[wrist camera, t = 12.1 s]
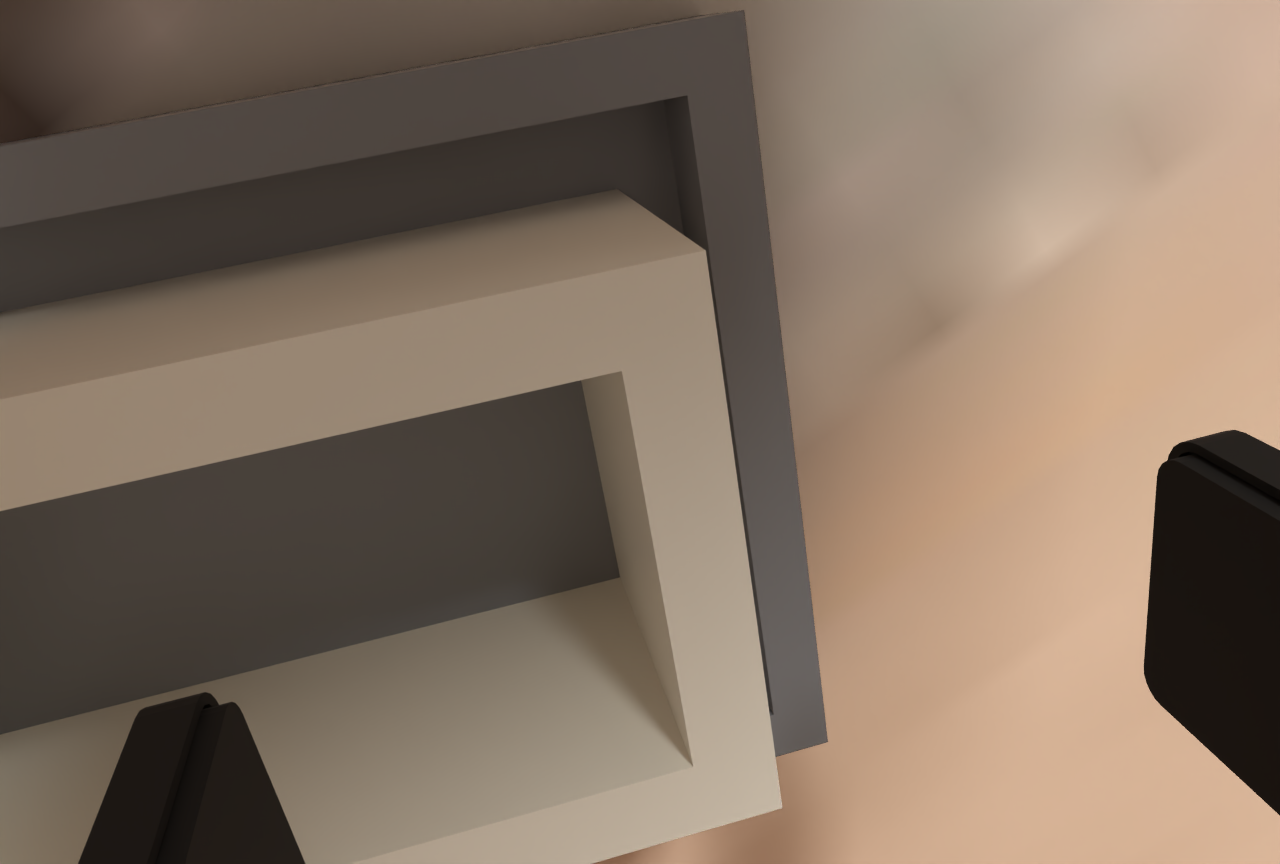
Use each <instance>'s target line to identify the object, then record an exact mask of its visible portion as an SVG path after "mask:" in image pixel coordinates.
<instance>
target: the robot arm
mask: <svg viewBox="0 0 1280 864" xmlns="http://www.w3.org/2000/svg"><path fill="white" fill-rule="evenodd" d="M1144 675H1145V679H1146V682H1147V685H1148V687H1149V689H1150V691H1151V693H1152V695H1153V696H1154V698H1155V699H1156V700H1157V701H1158V703H1159V704H1160V705H1161V706H1162V707H1163V708H1164V709H1166V710H1167V711H1168V712H1169V713H1170V714H1171V715H1172V716H1173V717H1174V718H1175V719H1176V720H1177V721H1178V722H1180V723H1181V724H1182V725H1183V726H1184V727H1185V728H1186V729H1187V730H1188V731H1189V732H1190V733H1191V734H1193V735H1194V736H1195V737H1196V738H1197V739H1198V740H1199V741H1200V742H1201V743H1202V744H1203V745H1204V746H1205V747H1207V748H1208V749H1209V750H1210V751H1211V752H1212V753H1213V754H1214V755H1215V756H1216V757H1217V758H1218V759H1220V760H1221V761H1222V762H1223V763H1224V764H1225V765H1226V766H1227V767H1228V768H1229V769H1230V770H1231V771H1232V772H1234V773H1235V774H1236V775H1237V776H1238V777H1239V778H1240V779H1241V780H1242V781H1243V782H1244V783H1245V784H1247V785H1248V786H1249V787H1250V788H1251V789H1252V790H1253V791H1254V792H1255V793H1256V794H1257V795H1258V796H1259V797H1261V798H1262V799H1263V800H1264V801H1265V802H1266V803H1267V804H1268V805H1269V806H1270V807H1271V808H1272V809H1274V810H1275V811H1276V812H1277V813H1278V814H1279V815H1280V450H1278V449H1276V448H1274V447H1272V446H1270V445H1268V444H1266V443H1264V442H1262V441H1260V440H1258V439H1256V438H1254V437H1252V436H1250V435H1248V434H1246V433H1243V432H1240V431H1237V430H1230V431H1224V432H1220V433H1216V434H1212V435H1208V436H1204V437H1200V438H1197V439H1193V440H1189V441H1185V442H1181V443H1179V444H1178V445H1176V446H1175V447H1173V449H1172V451H1171V452H1170V454H1169V457H1168V460H1167V461H1166V462H1164V463H1163V464H1162V465H1161V467H1160V468H1159V470H1158V475H1157V486H1156V500H1155V514H1154V529H1153V543H1152V557H1151V572H1150V586H1149V600H1148V614H1147V629H1146V643H1145V657H1144ZM78 864H305V861H304V859H303V856H302V854H301V852H300V849H299V847H298V844H297V842H296V840H295V837H294V835H293V832H292V830H291V828H290V825H289V823H288V821H287V818H286V816H285V813H284V811H283V809H282V806H281V804H280V801H279V799H278V797H277V794H276V792H275V789H274V787H273V785H272V782H271V780H270V777H269V775H268V773H267V770H266V768H265V766H264V763H263V761H262V758H261V756H260V754H259V751H258V749H257V746H256V744H255V742H254V739H253V737H252V734H251V732H250V730H249V727H248V725H247V722H246V720H245V718H244V715H243V713H242V711H241V709H240V707H239V706H238V705H237V704H236V703H234V702H229V703H225V704H221V705H219V704H218V702H217V700H216V699H215V698H214V697H213V696H212V694H210V693H207V692H203V693H200V694H196V695H192V696H188V697H184V698H180V699H176V700H172V701H168V702H164V703H160V704H157V705H153V706H149V707H145V708H143V709H141V710H140V711H139V712H138V714H137V716H136V717H135V719H134V722H133V724H132V727H131V729H130V732H129V735H128V737H127V740H126V742H125V745H124V747H123V750H122V752H121V755H120V758H119V760H118V763H117V765H116V768H115V770H114V773H113V775H112V778H111V781H110V783H109V786H108V788H107V791H106V793H105V796H104V798H103V801H102V804H101V806H100V809H99V811H98V814H97V816H96V819H95V821H94V824H93V826H92V829H91V832H90V834H89V837H88V839H87V842H86V844H85V847H84V849H83V852H82V855H81V857H80V860H79V862H78Z"/></svg>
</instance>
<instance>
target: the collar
mask: <svg viewBox="0 0 1280 864" xmlns="http://www.w3.org/2000/svg"><path fill="white" fill-rule="evenodd" d="M580 380H581V382H582V387H583V392H584V397H585V402H586V407H587V412H588V417H589V422H590V428H591V433H592V438H593V443H594V448H595V453H596V458H597V463H598V468H599V473H600V478H601V483H602V488H603V493H604V498H605V503H606V508H607V513H608V518H609V524H610V529H611V534H612V539H613V544H614V549H615V554H616V559H617V564H618V569H619V574H620V577H619V578H615V579H611V580H607V581H604V582H600V583H596V584H592V585H588V586H584V587H580V588H576V589H572V590H568V591H564V592H560V593H556V594H552V595H548V596H544V597H540V598H537V599H533V600H529V601H525V602H521V603H517V604H513V605H509V606H505V607H501V608H497V609H493V610H489V611H485V612H481V613H477V614H473V615H469V616H466V617H462V618H458V619H454V620H450V621H446V622H442V623H438V624H434V625H430V626H426V627H422V628H418V629H414V630H410V631H406V632H402V633H399V634H395V635H391V636H387V637H383V638H379V639H375V640H371V641H367V642H363V643H359V644H355V645H351V646H347V647H343V648H339V649H335V650H331V651H328V652H324V653H320V654H316V655H312V656H308V657H304V658H300V659H296V660H292V661H288V662H284V663H280V664H276V665H272V666H268V667H264V668H261V669H257V670H253V671H249V672H245V673H241V674H237V675H233V676H229V677H225V678H221V679H217V680H213V681H209V682H205V683H201V684H197V685H193V686H190V687H186V688H182V689H178V690H174V691H170V692H166V693H162V694H158V695H154V696H150V697H146V698H142V699H138V700H134V701H130V702H126V703H123V704H119V705H115V706H111V707H107V708H103V709H99V710H95V711H91V712H87V713H83V714H79V715H75V716H71V717H67V718H63V719H59V720H55V721H52V722H48V723H44V724H40V725H36V726H32V727H28V728H24V729H20V730H16V731H12V732H8V733H4V734H0V864H78V862H79V860H80V857H81V855H82V852H83V849H84V847H85V844H86V842H87V839H88V837H89V834H90V832H91V829H92V826H93V824H94V821H95V819H96V816H97V814H98V811H99V809H100V806H101V804H102V801H103V798H104V796H105V793H106V791H107V788H108V786H109V783H110V781H111V778H112V775H113V773H114V770H115V768H116V765H117V763H118V760H119V758H120V755H121V752H122V750H123V747H124V745H125V742H126V740H127V737H128V735H129V732H130V729H131V727H132V724H133V722H134V719H135V717H136V716H137V714H138V712H139V711H140V710H141V709H143V708H145V707H149V706H153V705H157V704H160V703H164V702H168V701H172V700H176V699H180V698H184V697H188V696H192V695H196V694H200V693H203V692H207V693H210V694H212V696H213V697H214V698H215V699H216V700H217V702H218V704H219V705H221V704H225V703H229V702H234V703H236V704H237V705H238V706H239V707H240V709H241V711H242V713H243V715H244V718H245V720H246V722H247V725H248V727H249V730H250V732H251V734H252V737H253V739H254V742H255V744H256V746H257V749H258V751H259V754H260V756H261V758H262V761H263V763H264V766H265V768H266V770H267V773H268V775H269V777H270V780H271V782H272V785H273V787H274V789H275V792H276V794H277V797H278V799H279V801H280V804H281V806H282V809H283V811H284V813H285V816H286V818H287V821H288V823H289V825H290V828H291V830H292V832H293V835H294V837H295V840H296V842H297V844H298V847H299V849H300V852H301V854H302V856H303V859H304V861H305V864H593V863H596V862H600V861H603V860H607V859H610V858H613V857H617V856H620V855H624V854H627V853H631V852H634V851H637V850H641V849H644V848H648V847H651V846H655V845H658V844H661V843H665V842H668V841H672V840H675V839H679V838H682V837H685V836H689V835H692V834H696V833H699V832H703V831H706V830H709V829H713V828H716V827H720V826H723V825H727V824H730V823H733V822H737V821H740V820H744V819H747V818H751V817H754V816H758V815H761V814H764V813H768V812H771V811H775V810H778V809H782V800H781V793H780V786H779V779H778V771H777V764H776V757H775V750H774V742H773V735H772V728H771V720H770V713H769V706H768V699H767V691H766V684H765V677H764V670H763V662H762V655H761V648H760V641H759V633H758V626H757V619H756V612H755V604H754V597H753V590H752V583H751V575H750V568H749V561H748V554H747V546H746V539H745V532H744V524H743V517H742V510H741V503H740V495H739V488H738V481H737V474H736V466H735V459H734V452H733V445H732V437H731V430H730V423H729V416H728V408H727V401H726V394H725V387H724V379H723V372H722V365H721V357H720V350H719V343H718V336H717V328H716V321H715V314H714V307H713V299H712V292H711V285H710V278H709V270H708V263H707V256H706V250H704V249H703V248H702V247H700V246H699V245H697V244H696V243H694V242H693V241H691V240H690V239H689V238H687V237H686V236H684V235H683V234H681V233H680V232H678V231H677V230H676V229H674V228H673V227H671V226H670V225H668V224H667V223H665V222H664V221H663V220H661V219H660V218H658V217H657V216H655V215H654V214H652V213H651V212H650V211H648V210H647V209H645V208H644V207H642V206H641V205H640V204H638V203H637V202H635V201H634V200H632V199H631V198H629V197H628V196H627V195H625V194H624V193H622V192H621V191H619V190H618V189H614V190H609V191H604V192H599V193H594V194H589V195H584V196H579V197H574V198H569V199H564V200H559V201H554V202H549V203H544V204H539V205H534V206H529V207H524V208H519V209H514V210H509V211H504V212H499V213H495V214H490V215H485V216H480V217H475V218H470V219H465V220H460V221H455V222H450V223H445V224H440V225H435V226H430V227H425V228H420V229H415V230H410V231H405V232H400V233H395V234H390V235H385V236H380V237H375V238H370V239H365V240H360V241H355V242H350V243H345V244H340V245H335V246H330V247H325V248H320V249H315V250H310V251H305V252H300V253H295V254H290V255H285V256H280V257H275V258H270V259H265V260H260V261H255V262H250V263H245V264H240V265H235V266H230V267H225V268H220V269H215V270H210V271H205V272H200V273H195V274H190V275H185V276H180V277H175V278H170V279H166V280H161V281H156V282H151V283H146V284H141V285H136V286H131V287H126V288H121V289H116V290H111V291H106V292H101V293H96V294H91V295H86V296H81V297H76V298H71V299H66V300H61V301H56V302H51V303H46V304H41V305H36V306H31V307H26V308H21V309H16V310H11V311H6V312H1V313H0V511H3V510H8V509H12V508H16V507H21V506H25V505H30V504H34V503H39V502H43V501H47V500H52V499H56V498H61V497H65V496H70V495H74V494H79V493H83V492H87V491H92V490H96V489H101V488H105V487H110V486H114V485H118V484H123V483H127V482H132V481H136V480H141V479H145V478H149V477H154V476H158V475H163V474H167V473H172V472H176V471H180V470H185V469H189V468H194V467H198V466H203V465H207V464H212V463H216V462H220V461H225V460H229V459H234V458H238V457H243V456H247V455H251V454H256V453H260V452H265V451H269V450H274V449H278V448H282V447H287V446H291V445H296V444H300V443H305V442H309V441H314V440H318V439H322V438H327V437H331V436H336V435H340V434H345V433H349V432H353V431H358V430H362V429H367V428H371V427H376V426H380V425H384V424H389V423H393V422H398V421H402V420H407V419H411V418H415V417H420V416H424V415H429V414H433V413H438V412H442V411H447V410H451V409H455V408H460V407H464V406H469V405H473V404H478V403H482V402H486V401H491V400H495V399H500V398H504V397H509V396H513V395H517V394H522V393H526V392H531V391H535V390H540V389H544V388H548V387H553V386H557V385H562V384H566V383H571V382H575V381H580Z"/></svg>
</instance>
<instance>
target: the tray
mask: <svg viewBox="0 0 1280 864" xmlns="http://www.w3.org/2000/svg"><path fill="white" fill-rule="evenodd" d="M614 189H618V190H619V191H621V192H622V193H624V194H625V195H627V196H628V197H629V198H631V199H632V200H634V201H635V202H637V203H638V204H640V205H641V206H642V207H644V208H645V209H647V210H648V211H650V212H651V213H652V214H654V215H655V216H657V217H658V218H660V219H661V220H663V221H664V222H665V223H667V224H668V225H670V226H671V227H673V228H674V229H676V230H677V231H678V232H680V233H681V234H683V235H684V236H686V237H687V238H689V239H690V240H691V241H693V242H694V243H696V244H697V245H699V246H700V247H702V248H703V249H704V250H706V256H707V263H708V270H709V278H710V285H711V292H712V299H713V307H714V314H715V321H716V328H717V336H718V343H719V350H720V357H721V365H722V372H723V379H724V387H725V394H726V401H727V408H728V416H729V423H730V430H731V437H732V445H733V452H734V459H735V466H736V474H737V481H738V488H739V495H740V503H741V510H742V517H743V524H744V532H745V539H746V546H747V554H748V561H749V568H750V575H751V583H752V590H753V597H754V604H755V612H756V619H757V626H758V633H759V641H760V648H761V655H762V662H763V670H764V677H765V684H766V691H767V699H768V706H769V713H770V720H771V728H772V735H773V742H774V750H775V757H777V756H781V755H784V754H788V753H791V752H794V751H798V750H801V749H805V748H808V747H812V746H815V745H819V744H822V743H826V742H828V739H827V731H826V722H825V713H824V704H823V696H822V687H821V678H820V670H819V661H818V652H817V643H816V635H815V626H814V617H813V608H812V600H811V591H810V582H809V574H808V565H807V556H806V547H805V539H804V530H803V521H802V512H801V504H800V495H799V486H798V478H797V469H796V460H795V451H794V443H793V434H792V425H791V416H790V408H789V399H788V390H787V382H786V373H785V364H784V355H783V347H782V338H781V329H780V320H779V312H778V303H777V294H776V286H775V277H774V268H773V259H772V251H771V242H770V233H769V224H768V216H767V207H766V198H765V190H764V181H763V172H762V163H761V155H760V146H759V137H758V128H757V120H756V111H755V102H754V94H753V85H752V76H751V67H750V59H749V50H748V41H747V32H746V24H745V15H744V10H742V11H734V12H725V13H717V14H709V15H702V16H696V17H691V18H685V19H680V20H674V21H669V22H663V23H658V24H652V25H647V26H641V27H636V28H631V29H625V30H620V31H614V32H609V33H603V34H598V35H592V36H587V37H581V38H576V39H570V40H565V41H559V42H554V43H548V44H543V45H537V46H532V47H527V48H521V49H516V50H510V51H505V52H499V53H494V54H488V55H483V56H477V57H472V58H466V59H461V60H455V61H450V62H444V63H439V64H433V65H428V66H423V67H417V68H412V69H406V70H401V71H395V72H390V73H384V74H379V75H373V76H368V77H362V78H357V79H351V80H346V81H340V82H335V83H329V84H324V85H318V86H313V87H308V88H302V89H297V90H291V91H286V92H280V93H275V94H269V95H264V96H258V97H253V98H247V99H242V100H236V101H231V102H225V103H220V104H214V105H209V106H204V107H198V108H193V109H187V110H182V111H176V112H171V113H165V114H160V115H154V116H149V117H143V118H138V119H132V120H127V121H121V122H116V123H110V124H105V125H100V126H94V127H89V128H83V129H78V130H72V131H67V132H61V133H56V134H50V135H45V136H39V137H34V138H28V139H23V140H17V141H12V142H6V143H1V144H0V313H1V312H6V311H11V310H16V309H21V308H26V307H31V306H36V305H41V304H46V303H51V302H56V301H61V300H66V299H71V298H76V297H81V296H86V295H91V294H96V293H101V292H106V291H111V290H116V289H121V288H126V287H131V286H136V285H141V284H146V283H151V282H156V281H161V280H166V279H170V278H175V277H180V276H185V275H190V274H195V273H200V272H205V271H210V270H215V269H220V268H225V267H230V266H235V265H240V264H245V263H250V262H255V261H260V260H265V259H270V258H275V257H280V256H285V255H290V254H295V253H300V252H305V251H310V250H315V249H320V248H325V247H330V246H335V245H340V244H345V243H350V242H355V241H360V240H365V239H370V238H375V237H380V236H385V235H390V234H395V233H400V232H405V231H410V230H415V229H420V228H425V227H430V226H435V225H440V224H445V223H450V222H455V221H460V220H465V219H470V218H475V217H480V216H485V215H490V214H495V213H499V212H504V211H509V210H514V209H519V208H524V207H529V206H534V205H539V204H544V203H549V202H554V201H559V200H564V199H569V198H574V197H579V196H584V195H589V194H594V193H599V192H604V191H609V190H614ZM619 577H620V574H619V569H618V564H617V559H616V554H615V549H614V544H613V539H612V534H611V529H610V524H609V518H608V513H607V508H606V503H605V498H604V493H603V488H602V483H601V478H600V473H599V468H598V463H597V458H596V453H595V448H594V443H593V438H592V433H591V428H590V422H589V417H588V412H587V407H586V402H585V397H584V392H583V387H582V382H581V380H580V381H575V382H571V383H566V384H562V385H557V386H553V387H548V388H544V389H540V390H535V391H531V392H526V393H522V394H517V395H513V396H509V397H504V398H500V399H495V400H491V401H486V402H482V403H478V404H473V405H469V406H464V407H460V408H455V409H451V410H447V411H442V412H438V413H433V414H429V415H424V416H420V417H415V418H411V419H407V420H402V421H398V422H393V423H389V424H384V425H380V426H376V427H371V428H367V429H362V430H358V431H353V432H349V433H345V434H340V435H336V436H331V437H327V438H322V439H318V440H314V441H309V442H305V443H300V444H296V445H291V446H287V447H282V448H278V449H274V450H269V451H265V452H260V453H256V454H251V455H247V456H243V457H238V458H234V459H229V460H225V461H220V462H216V463H212V464H207V465H203V466H198V467H194V468H189V469H185V470H180V471H176V472H172V473H167V474H163V475H158V476H154V477H149V478H145V479H141V480H136V481H132V482H127V483H123V484H118V485H114V486H110V487H105V488H101V489H96V490H92V491H87V492H83V493H79V494H74V495H70V496H65V497H61V498H56V499H52V500H47V501H43V502H39V503H34V504H30V505H25V506H21V507H16V508H12V509H8V510H3V511H0V734H4V733H8V732H12V731H16V730H20V729H24V728H28V727H32V726H36V725H40V724H44V723H48V722H52V721H55V720H59V719H63V718H67V717H71V716H75V715H79V714H83V713H87V712H91V711H95V710H99V709H103V708H107V707H111V706H115V705H119V704H123V703H126V702H130V701H134V700H138V699H142V698H146V697H150V696H154V695H158V694H162V693H166V692H170V691H174V690H178V689H182V688H186V687H190V686H193V685H197V684H201V683H205V682H209V681H213V680H217V679H221V678H225V677H229V676H233V675H237V674H241V673H245V672H249V671H253V670H257V669H261V668H264V667H268V666H272V665H276V664H280V663H284V662H288V661H292V660H296V659H300V658H304V657H308V656H312V655H316V654H320V653H324V652H328V651H331V650H335V649H339V648H343V647H347V646H351V645H355V644H359V643H363V642H367V641H371V640H375V639H379V638H383V637H387V636H391V635H395V634H399V633H402V632H406V631H410V630H414V629H418V628H422V627H426V626H430V625H434V624H438V623H442V622H446V621H450V620H454V619H458V618H462V617H466V616H469V615H473V614H477V613H481V612H485V611H489V610H493V609H497V608H501V607H505V606H509V605H513V604H517V603H521V602H525V601H529V600H533V599H537V598H540V597H544V596H548V595H552V594H556V593H560V592H564V591H568V590H572V589H576V588H580V587H584V586H588V585H592V584H596V583H600V582H604V581H607V580H611V579H615V578H619Z"/></svg>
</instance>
